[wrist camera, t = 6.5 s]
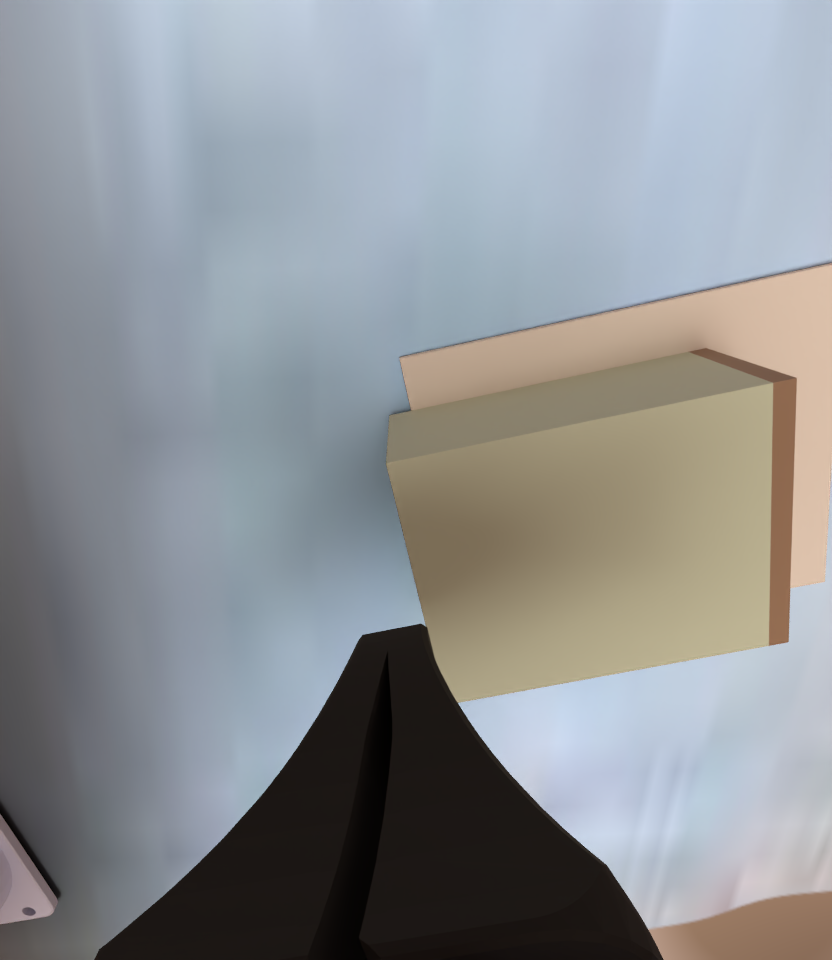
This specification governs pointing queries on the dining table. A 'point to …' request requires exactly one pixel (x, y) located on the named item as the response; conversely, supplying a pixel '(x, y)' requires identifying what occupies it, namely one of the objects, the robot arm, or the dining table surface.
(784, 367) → the mat
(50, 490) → the dining table surface
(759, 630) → the sage block
